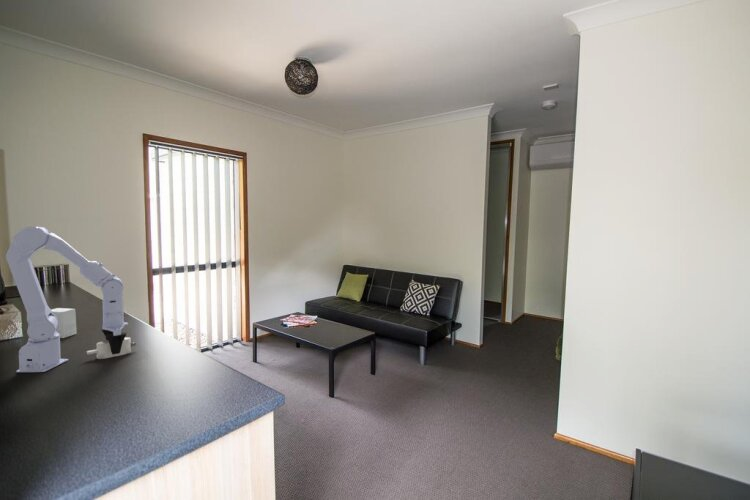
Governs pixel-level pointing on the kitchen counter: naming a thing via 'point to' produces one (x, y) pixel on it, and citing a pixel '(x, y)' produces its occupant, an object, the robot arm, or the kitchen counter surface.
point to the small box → (65, 321)
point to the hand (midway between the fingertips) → (114, 350)
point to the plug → (105, 351)
